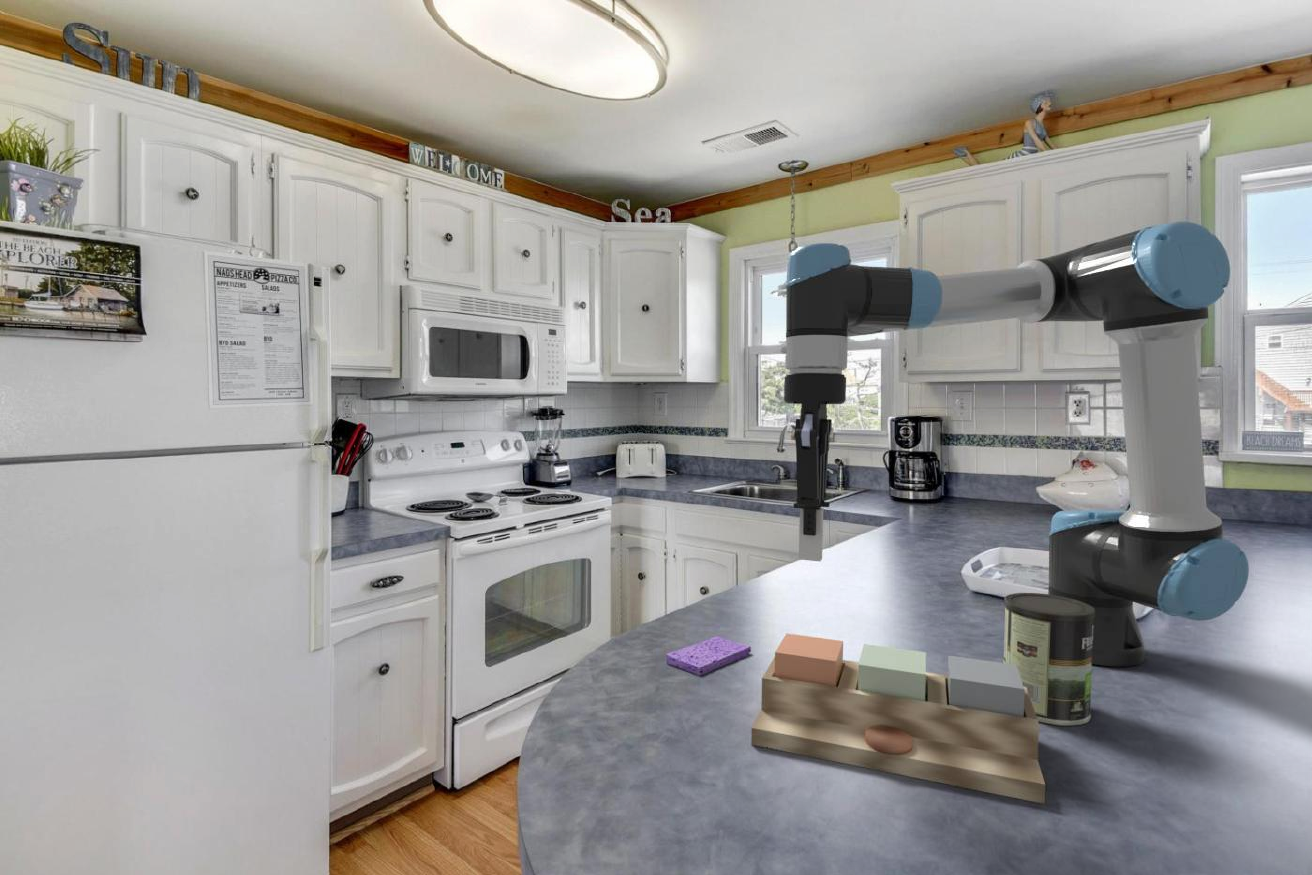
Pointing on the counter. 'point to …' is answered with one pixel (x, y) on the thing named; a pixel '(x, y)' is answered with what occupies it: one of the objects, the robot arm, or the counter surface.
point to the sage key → (892, 672)
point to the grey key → (985, 686)
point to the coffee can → (1052, 654)
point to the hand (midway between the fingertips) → (810, 559)
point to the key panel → (903, 733)
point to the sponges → (707, 655)
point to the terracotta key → (809, 659)
